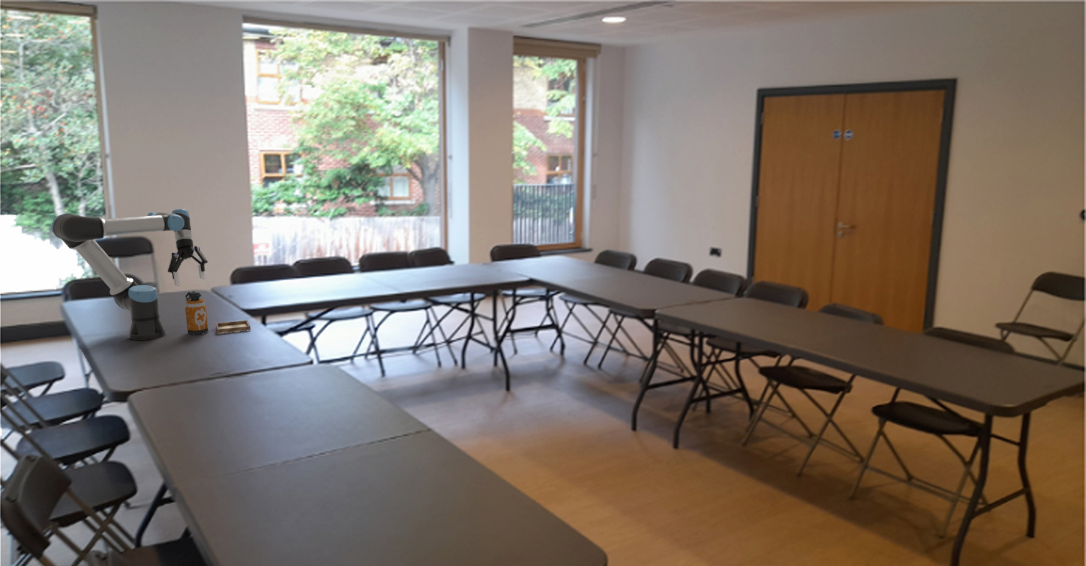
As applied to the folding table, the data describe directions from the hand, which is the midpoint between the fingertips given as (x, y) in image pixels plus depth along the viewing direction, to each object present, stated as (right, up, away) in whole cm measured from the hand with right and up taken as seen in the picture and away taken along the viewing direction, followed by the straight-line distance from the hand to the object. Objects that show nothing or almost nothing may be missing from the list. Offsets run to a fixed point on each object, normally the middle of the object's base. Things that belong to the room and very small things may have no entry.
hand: (189, 281), depth 369 cm
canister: (+6, -24, -6) cm, 26 cm away
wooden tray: (+21, -23, 0) cm, 31 cm away
